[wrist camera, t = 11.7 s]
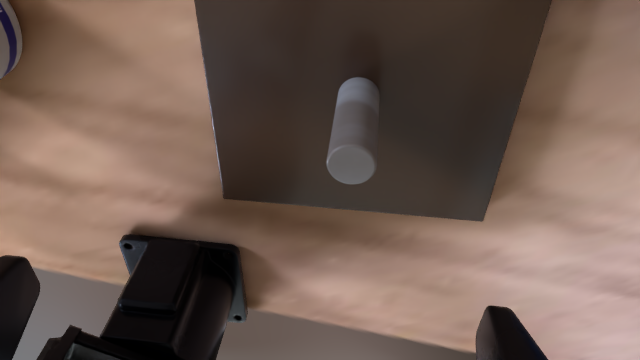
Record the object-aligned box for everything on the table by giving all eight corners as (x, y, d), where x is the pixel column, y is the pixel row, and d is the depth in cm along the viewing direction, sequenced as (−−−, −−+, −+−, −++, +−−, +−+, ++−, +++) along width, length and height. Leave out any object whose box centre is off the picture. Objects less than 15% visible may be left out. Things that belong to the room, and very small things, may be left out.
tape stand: (480, 209, 23) (499, 302, 19) (227, 188, 24) (194, 271, 20) (566, -74, 15) (626, -19, 11) (189, -90, 16) (123, -44, 12)
